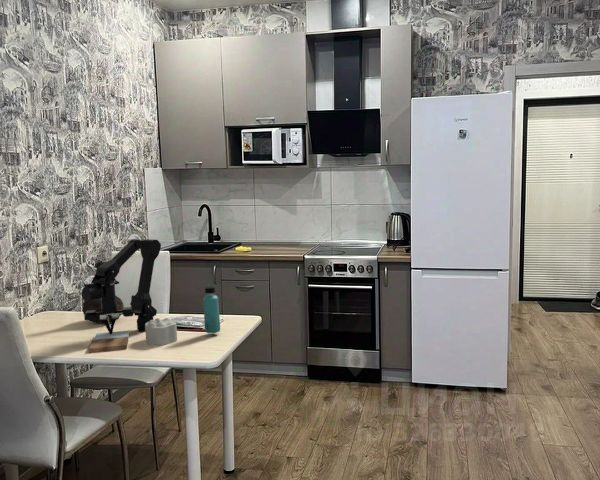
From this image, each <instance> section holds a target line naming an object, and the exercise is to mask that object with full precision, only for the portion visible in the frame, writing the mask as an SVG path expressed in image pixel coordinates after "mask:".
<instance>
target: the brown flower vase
mask: <svg viewBox="0 0 600 480" xmlns="http://www.w3.org/2000/svg"><path fill="white" fill-rule="evenodd" d="M105 262H106V261H97V262H95V266H93V268H94V269H96V270H97V268H98V267H99V266H100V265H102V264H103V263H105ZM100 280H101V279H100ZM99 300H101V298H100V299H96V300H92V301H88V302H86V301H84V300H83V304H82V313H83V315H84V314H85V312H86V311H89V310H96V312H102V308H99ZM116 302H117V310H123V308H124V306H125V305H124V302H123V300H122V299H121V297H119V296H118V295H116ZM107 314H108V313H107ZM121 316H122V315H120V317H121ZM111 318H112V316H109V323H110V324H111ZM88 321H89V322H91V323H93V324H99V325H105V324H104V323H103V321H100V317H95V318H94V319H93V320H88Z"/></svg>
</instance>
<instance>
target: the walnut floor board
mask: <svg viewBox="0 0 600 480" xmlns="http://www.w3.org/2000/svg"><path fill="white" fill-rule="evenodd" d="M128 344H129V337H121V338H110V339H100V340H94V339H93V340H91V344H90V346H89V349H88V350H89V353H90V354H91V353H92V352H93V353H101V352H100V351H103V352H110V351H111V350H113V351H121V350H127V348H128ZM109 350H110V351H109ZM93 353H92V354H93Z"/></svg>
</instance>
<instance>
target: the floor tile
mask: <svg viewBox="0 0 600 480" xmlns="http://www.w3.org/2000/svg"><path fill="white" fill-rule="evenodd" d="M129 336H130V330H120V331H113V332H112V334H109V331H107V332H100V333H99V332H97V333H96V334H95V336H94V338H93V340H100V339H110V338H121V337H128V338H129Z"/></svg>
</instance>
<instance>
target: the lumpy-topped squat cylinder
mask: <svg viewBox="0 0 600 480" xmlns="http://www.w3.org/2000/svg"><path fill="white" fill-rule="evenodd" d="M177 329H178V327H177V323H176V321H172V320H171V319H170V318H169V317H165V318H163V319H160V318H159V317H158V318H157V317H156V318H155V319H153V320H150V321H149V322H147V323H146V324H145V331H144V332H145V341H146V344H148V345H152V346H159V347H160V346H162V347H163V346H167V345H169V344H172V343H176V342H178V333H177V332H178V330H177Z"/></svg>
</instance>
